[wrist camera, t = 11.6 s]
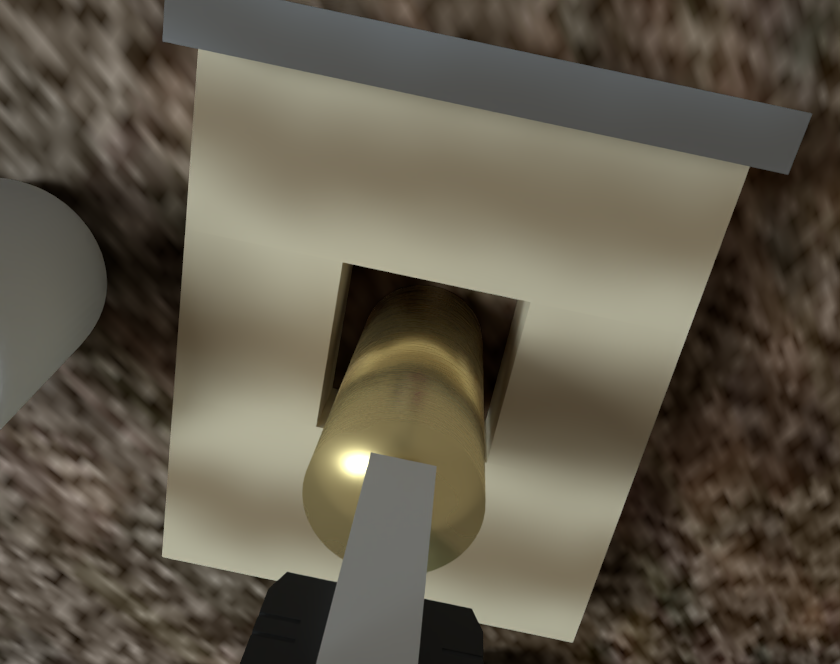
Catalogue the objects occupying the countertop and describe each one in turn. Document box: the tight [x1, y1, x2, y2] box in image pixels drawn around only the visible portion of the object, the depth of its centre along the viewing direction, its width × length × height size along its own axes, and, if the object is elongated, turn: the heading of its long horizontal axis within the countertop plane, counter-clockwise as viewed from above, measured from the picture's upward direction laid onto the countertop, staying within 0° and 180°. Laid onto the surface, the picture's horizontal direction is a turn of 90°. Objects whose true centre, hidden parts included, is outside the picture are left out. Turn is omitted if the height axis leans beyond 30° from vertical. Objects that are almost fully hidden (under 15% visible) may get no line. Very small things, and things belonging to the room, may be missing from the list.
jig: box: [162, 0, 812, 643], centre depth 24 cm, size 20×16×6 cm
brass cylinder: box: [302, 285, 486, 572], centre depth 22 cm, size 4×4×10 cm
